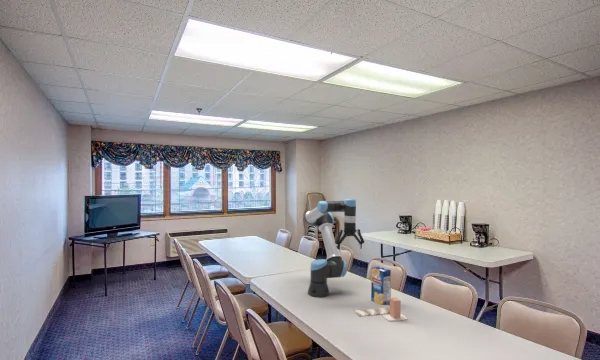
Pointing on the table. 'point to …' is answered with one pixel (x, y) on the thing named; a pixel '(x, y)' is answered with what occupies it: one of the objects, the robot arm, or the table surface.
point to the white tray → (372, 312)
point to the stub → (395, 311)
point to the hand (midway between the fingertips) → (349, 254)
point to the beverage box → (381, 285)
